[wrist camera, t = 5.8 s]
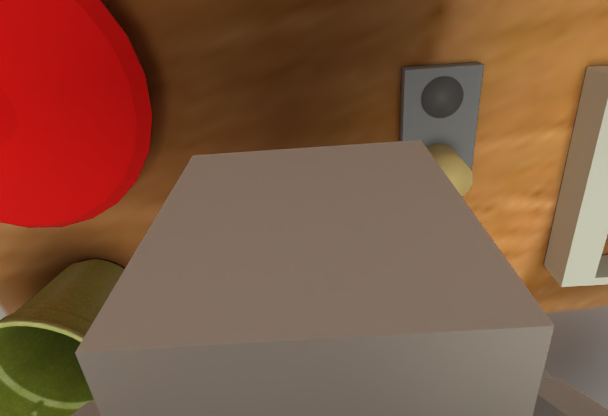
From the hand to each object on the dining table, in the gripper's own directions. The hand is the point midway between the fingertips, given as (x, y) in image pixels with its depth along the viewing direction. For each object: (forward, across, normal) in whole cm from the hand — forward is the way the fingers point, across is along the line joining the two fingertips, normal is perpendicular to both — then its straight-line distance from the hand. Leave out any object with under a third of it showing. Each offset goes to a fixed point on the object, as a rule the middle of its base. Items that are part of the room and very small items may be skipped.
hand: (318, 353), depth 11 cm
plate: (+19, -8, +1) cm, 21 cm away
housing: (+3, 0, 0) cm, 3 cm away
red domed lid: (+19, +16, -3) cm, 25 cm away
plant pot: (+19, +16, +12) cm, 28 cm away
